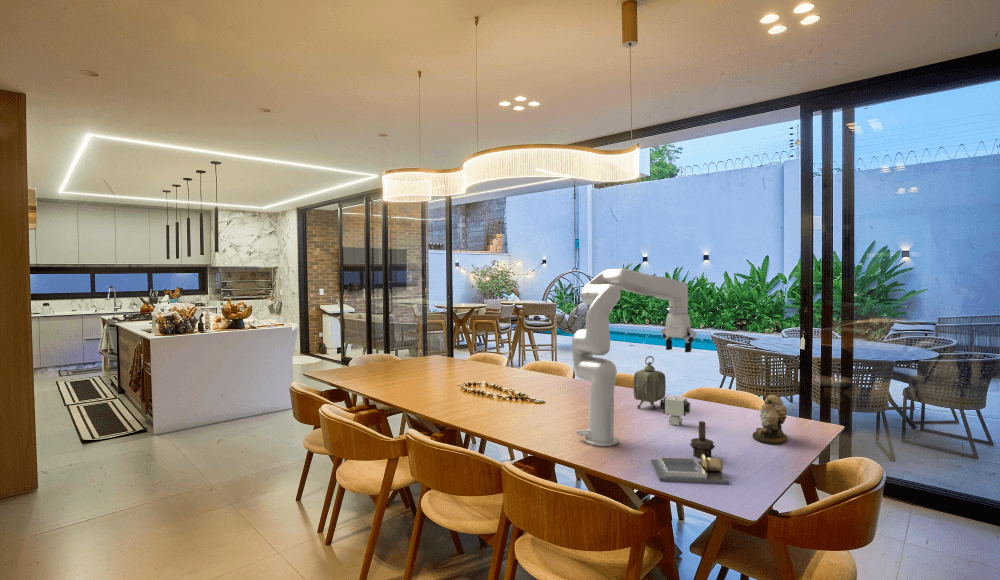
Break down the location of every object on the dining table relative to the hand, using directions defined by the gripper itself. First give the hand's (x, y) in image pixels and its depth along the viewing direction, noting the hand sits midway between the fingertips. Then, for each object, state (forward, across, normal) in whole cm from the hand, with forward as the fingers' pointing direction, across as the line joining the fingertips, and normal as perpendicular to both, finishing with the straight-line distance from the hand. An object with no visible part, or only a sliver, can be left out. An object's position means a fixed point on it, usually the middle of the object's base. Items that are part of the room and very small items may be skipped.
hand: (678, 350), depth 216 cm
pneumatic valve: (+31, 0, -2) cm, 31 cm away
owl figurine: (+32, +33, +12) cm, 47 cm away
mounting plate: (+31, +38, -45) cm, 66 cm away
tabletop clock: (+31, -26, +12) cm, 42 cm away
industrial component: (+31, +30, -28) cm, 52 cm away
